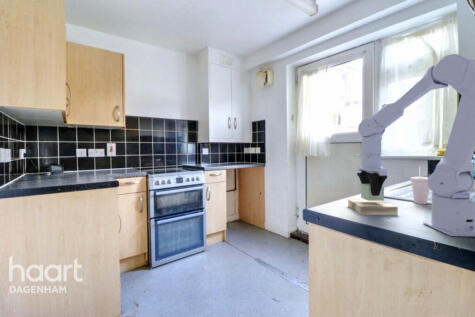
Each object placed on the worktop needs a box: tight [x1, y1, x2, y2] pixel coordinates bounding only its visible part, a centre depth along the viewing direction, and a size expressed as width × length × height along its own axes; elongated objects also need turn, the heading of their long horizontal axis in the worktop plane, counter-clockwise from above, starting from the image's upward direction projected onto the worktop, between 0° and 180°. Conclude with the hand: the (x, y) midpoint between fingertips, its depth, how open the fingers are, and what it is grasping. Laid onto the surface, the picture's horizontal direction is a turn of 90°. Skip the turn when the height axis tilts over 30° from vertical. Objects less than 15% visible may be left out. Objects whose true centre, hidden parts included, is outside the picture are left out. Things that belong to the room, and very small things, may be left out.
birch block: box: [347, 198, 399, 216], centre depth 78 cm, size 11×11×3 cm
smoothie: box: [410, 166, 430, 205], centre depth 85 cm, size 6×6×14 cm
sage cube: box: [360, 183, 385, 202], centre depth 77 cm, size 5×5×5 cm
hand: (371, 193), depth 77 cm, fingers closed on sage cube, 5 cm apart
